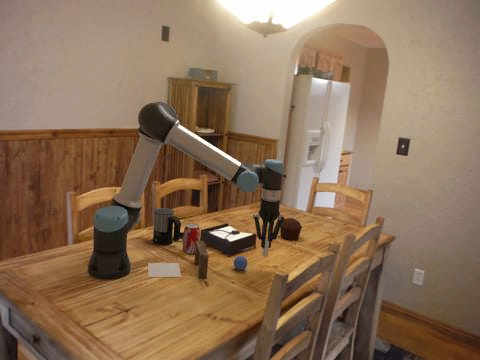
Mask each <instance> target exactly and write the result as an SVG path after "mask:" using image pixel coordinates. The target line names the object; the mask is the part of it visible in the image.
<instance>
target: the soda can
mask: <svg viewBox="0 0 480 360" xmlns="http://www.w3.org/2000/svg"><path fill="white" fill-rule="evenodd" d="M183 232H184V234H183V238H182V251H183V252H184V253H185V254H188V255H193V254H194V255H195V248H196V241H201V240H200V238H201V228H200V225H199V224H197V223H187V224H185V226H184V229H183Z"/></svg>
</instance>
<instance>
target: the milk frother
mask: <svg viewBox="0 0 480 360" xmlns="http://www.w3.org/2000/svg"><path fill="white" fill-rule="evenodd" d="M174 213H175V210H174V209H172V208H168V207H162V208H161V207H159V208H156V209H154V210H153V233H152V234H153V236H152V241H151V242H152V243H153V244H154V245H157V246H168V245H172V244H173V243H174V242H175V243H176V242H178V241H180V239H183V234H184V231H183V232H182V231H181V229H182V227H181V226H182V221H181V219H180V218H179V217H178V216H175V215H174Z"/></svg>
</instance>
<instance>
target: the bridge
mask: <svg viewBox="0 0 480 360" xmlns="http://www.w3.org/2000/svg"><path fill="white" fill-rule="evenodd" d="M204 241H205V240H200V241H196V248H195V254H194V265H198V271H197V273H198V274H197V277H198V279H207V278H208V267H209V258H210V257H209V252H208V250H207V247H206V244H205V242H204Z"/></svg>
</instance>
